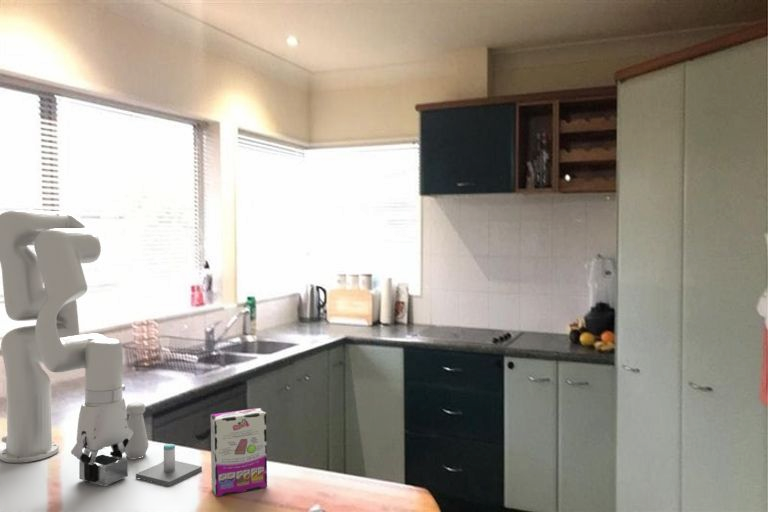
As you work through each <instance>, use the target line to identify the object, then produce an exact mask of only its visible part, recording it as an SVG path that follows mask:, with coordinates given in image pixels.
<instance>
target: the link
mask: <svg viewBox="0 0 768 512" xmlns="http://www.w3.org/2000/svg"><path fill="white" fill-rule="evenodd" d="M128 463H129V459H128V457H123V456H122V457H118V456H114V455H110V453H106V452H100V453H99V452H98V453H97V456H96V459H95V464H97V481H96V482H94V483H93V484H97V485H101V486H103V487H106V486H108V485H111V484H113V483H115V482H118V481H120V480H122V479H125V478H127V477H128V475H129V474H128V465H129V464H128ZM78 470H79V471H78V472H79V473H78V474H79V477H78V479H80V480H82V481H86V480H85V479H84V463H82V462H81V461H80V460H79V469H78Z"/></svg>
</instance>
